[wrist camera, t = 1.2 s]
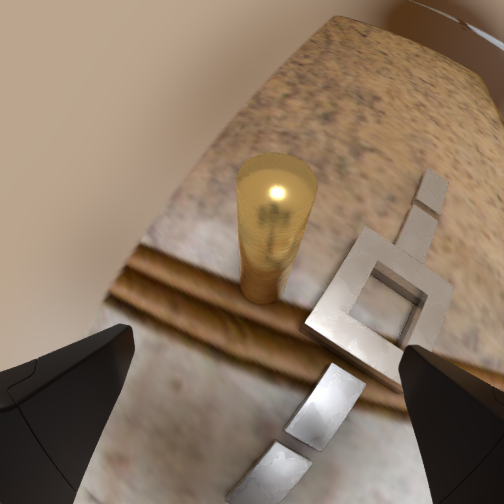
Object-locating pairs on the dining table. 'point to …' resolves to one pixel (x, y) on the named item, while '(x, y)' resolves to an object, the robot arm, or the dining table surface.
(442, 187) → the square frame with tiles
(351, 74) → the dining table surface
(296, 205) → the pin
